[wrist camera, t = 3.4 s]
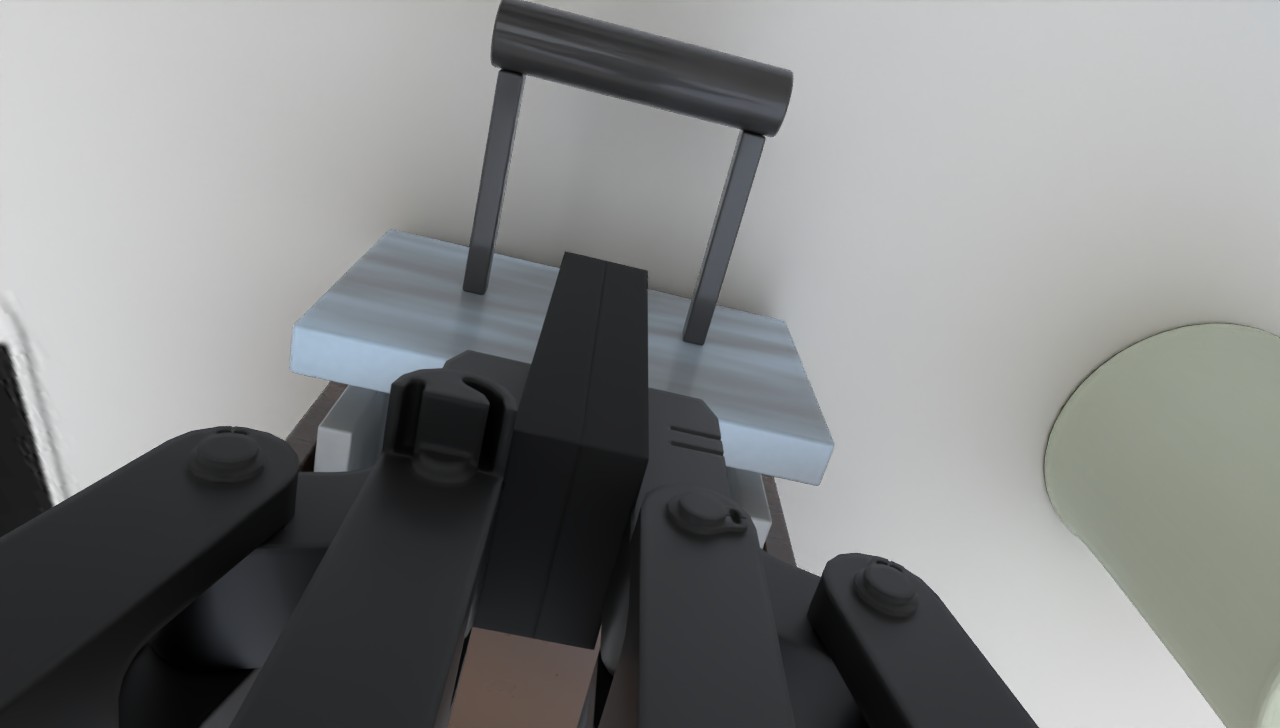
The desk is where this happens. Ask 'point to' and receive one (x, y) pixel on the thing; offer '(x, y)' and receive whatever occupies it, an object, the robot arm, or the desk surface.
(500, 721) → the cabinet
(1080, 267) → the desk surface
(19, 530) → the robot arm
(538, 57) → the drawer
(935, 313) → the desk surface
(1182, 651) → the can
